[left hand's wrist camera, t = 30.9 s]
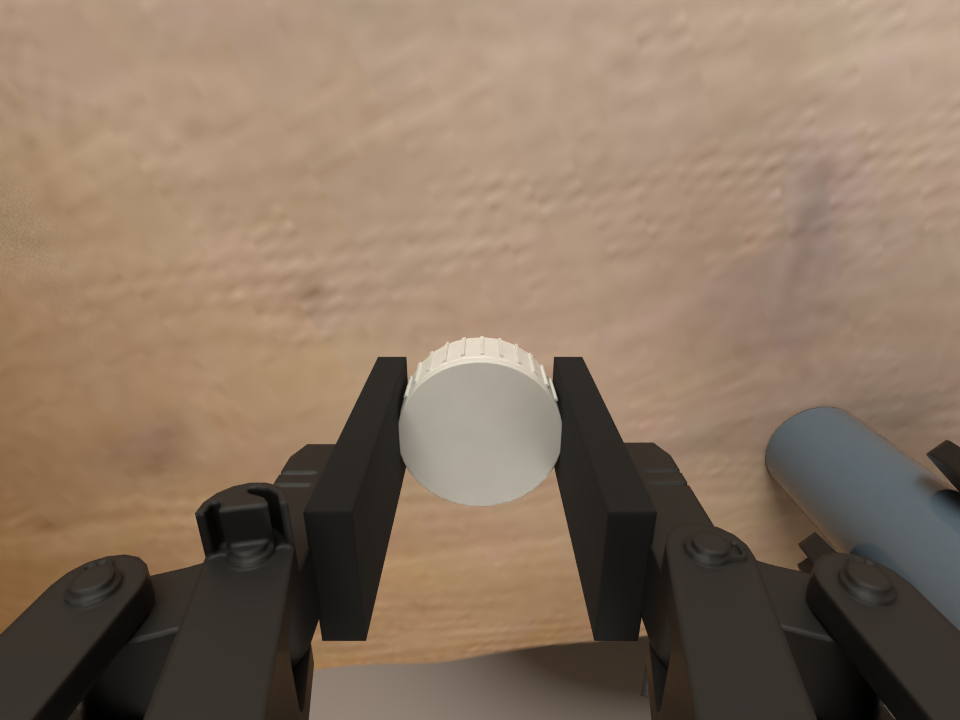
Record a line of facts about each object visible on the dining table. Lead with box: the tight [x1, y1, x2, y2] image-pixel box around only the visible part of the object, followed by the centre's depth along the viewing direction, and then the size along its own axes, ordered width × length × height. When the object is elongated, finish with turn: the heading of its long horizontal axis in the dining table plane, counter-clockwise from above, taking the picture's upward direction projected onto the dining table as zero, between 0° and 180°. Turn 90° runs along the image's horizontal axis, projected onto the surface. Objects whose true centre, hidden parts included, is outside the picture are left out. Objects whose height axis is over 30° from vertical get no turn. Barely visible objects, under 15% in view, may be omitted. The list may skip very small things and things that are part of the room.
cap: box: [398, 336, 562, 506], centre depth 14 cm, size 4×4×2 cm
